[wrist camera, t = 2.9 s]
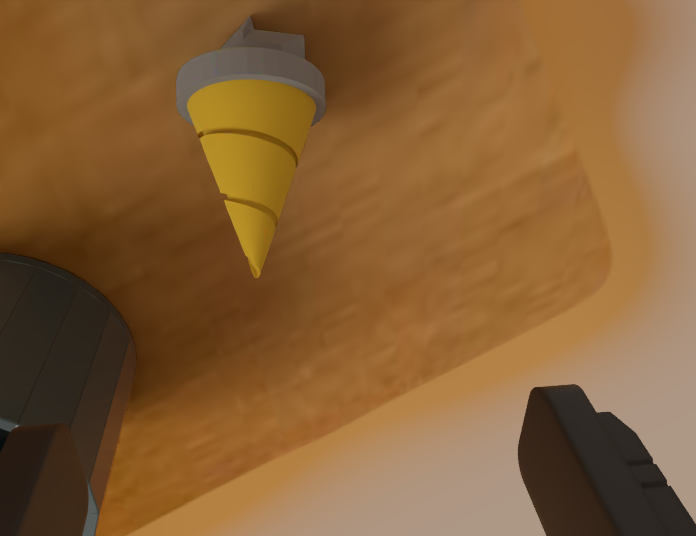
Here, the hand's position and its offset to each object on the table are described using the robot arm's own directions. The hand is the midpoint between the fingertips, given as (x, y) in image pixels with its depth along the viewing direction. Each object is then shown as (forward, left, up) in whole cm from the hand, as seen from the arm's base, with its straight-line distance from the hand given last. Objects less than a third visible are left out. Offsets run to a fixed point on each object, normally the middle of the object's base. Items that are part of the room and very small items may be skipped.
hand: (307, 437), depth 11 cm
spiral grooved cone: (-1, 0, -18) cm, 18 cm away
